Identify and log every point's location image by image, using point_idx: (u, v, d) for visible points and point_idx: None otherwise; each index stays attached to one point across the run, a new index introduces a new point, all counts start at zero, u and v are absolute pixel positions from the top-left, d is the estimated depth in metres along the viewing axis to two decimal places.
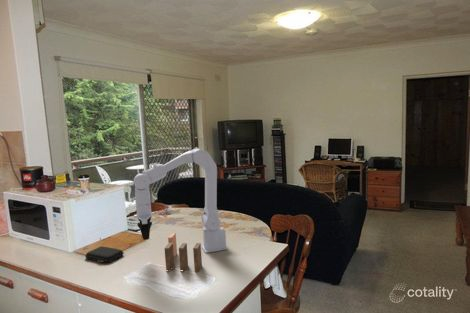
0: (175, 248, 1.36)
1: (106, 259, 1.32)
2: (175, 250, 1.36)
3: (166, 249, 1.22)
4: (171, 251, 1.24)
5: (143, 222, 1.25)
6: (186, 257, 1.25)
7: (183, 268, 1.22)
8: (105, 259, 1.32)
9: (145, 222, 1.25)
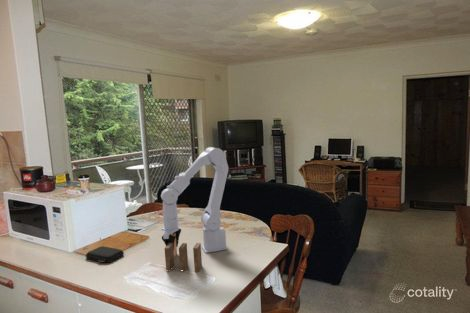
0: (175, 248, 1.36)
1: (106, 259, 1.32)
2: (175, 250, 1.36)
3: (166, 249, 1.22)
4: (171, 251, 1.24)
5: (164, 237, 1.28)
6: (186, 257, 1.25)
7: (183, 268, 1.22)
8: (105, 259, 1.32)
9: (166, 237, 1.28)
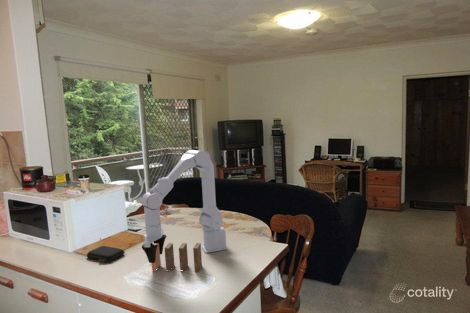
0: (158, 259, 1.26)
1: (107, 258, 1.32)
2: (158, 261, 1.26)
3: (166, 249, 1.22)
4: (171, 251, 1.24)
5: (145, 245, 1.17)
6: (186, 257, 1.25)
7: (183, 268, 1.22)
8: (106, 258, 1.33)
9: (147, 245, 1.17)
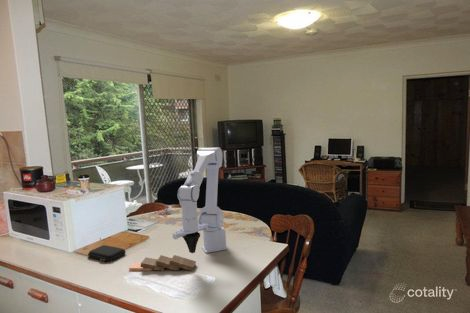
0: None
1: (108, 258, 1.33)
2: None
3: (142, 265, 1.23)
4: (149, 260, 1.25)
5: (173, 236, 1.18)
6: None
7: (176, 267, 1.22)
8: (107, 258, 1.33)
9: (174, 237, 1.17)
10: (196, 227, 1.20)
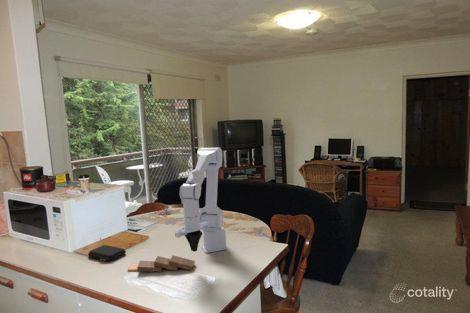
0: None
1: (108, 258, 1.33)
2: None
3: (138, 268, 1.21)
4: (145, 263, 1.24)
5: (175, 235, 1.17)
6: None
7: (174, 267, 1.22)
8: (107, 258, 1.33)
9: (177, 236, 1.17)
10: (198, 225, 1.20)
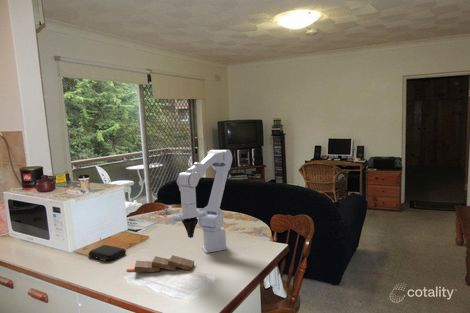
0: None
1: (108, 257, 1.33)
2: None
3: (135, 268, 1.20)
4: (142, 263, 1.23)
5: (171, 220, 1.24)
6: (167, 260, 1.26)
7: (172, 267, 1.22)
8: (107, 257, 1.33)
9: (172, 221, 1.23)
10: (194, 213, 1.25)
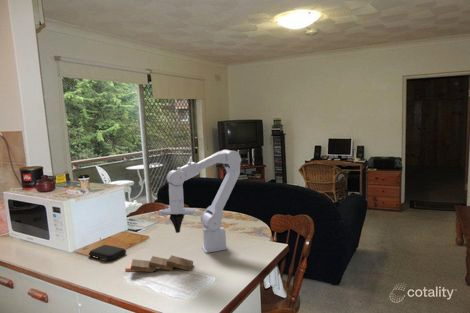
0: None
1: (108, 257, 1.33)
2: None
3: (132, 268, 1.20)
4: (138, 262, 1.23)
5: None
6: (164, 260, 1.26)
7: (170, 267, 1.22)
8: (107, 257, 1.33)
9: None
10: (177, 210, 1.31)
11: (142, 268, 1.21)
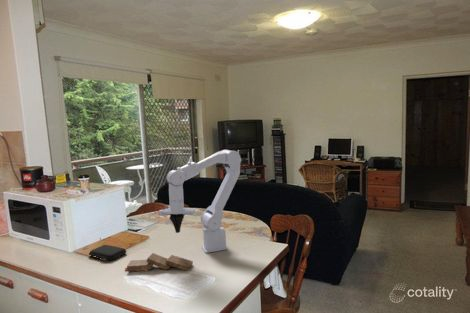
0: None
1: (109, 257, 1.33)
2: None
3: (128, 268, 1.23)
4: (135, 262, 1.25)
5: None
6: (163, 259, 1.27)
7: (166, 266, 1.23)
8: (108, 257, 1.34)
9: None
10: (177, 210, 1.31)
11: (138, 267, 1.23)
